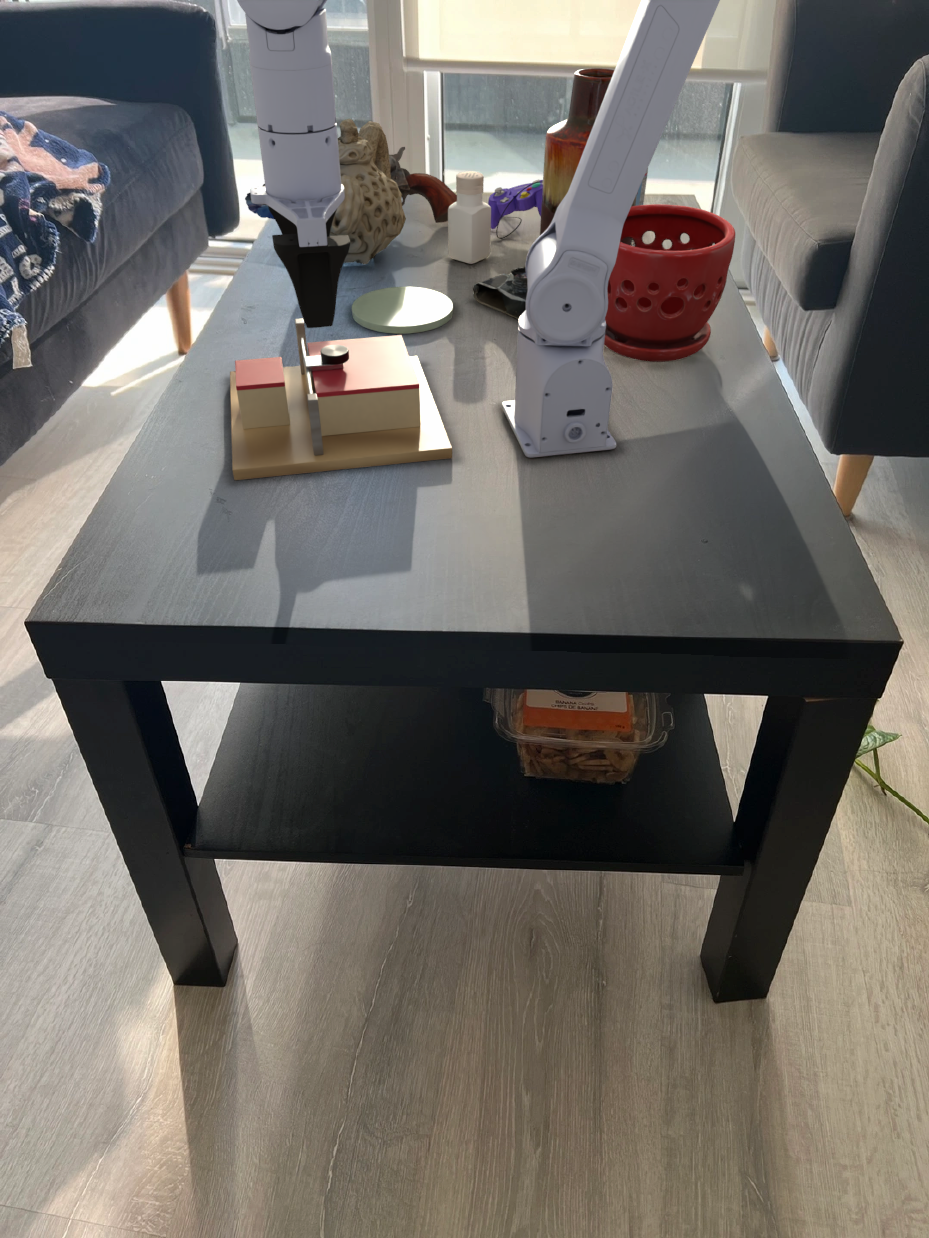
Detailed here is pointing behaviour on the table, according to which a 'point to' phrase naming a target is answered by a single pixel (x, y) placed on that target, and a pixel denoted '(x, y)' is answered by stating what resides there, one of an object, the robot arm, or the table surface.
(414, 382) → the red and beige block
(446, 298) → the plate
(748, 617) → the table surface
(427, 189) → the revolver
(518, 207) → the game controller
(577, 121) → the vase
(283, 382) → the cake slice
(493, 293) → the camera
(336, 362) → the blade
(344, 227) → the teapot
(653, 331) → the flower pot
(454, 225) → the pepper shaker
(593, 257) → the robot arm
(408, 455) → the board
